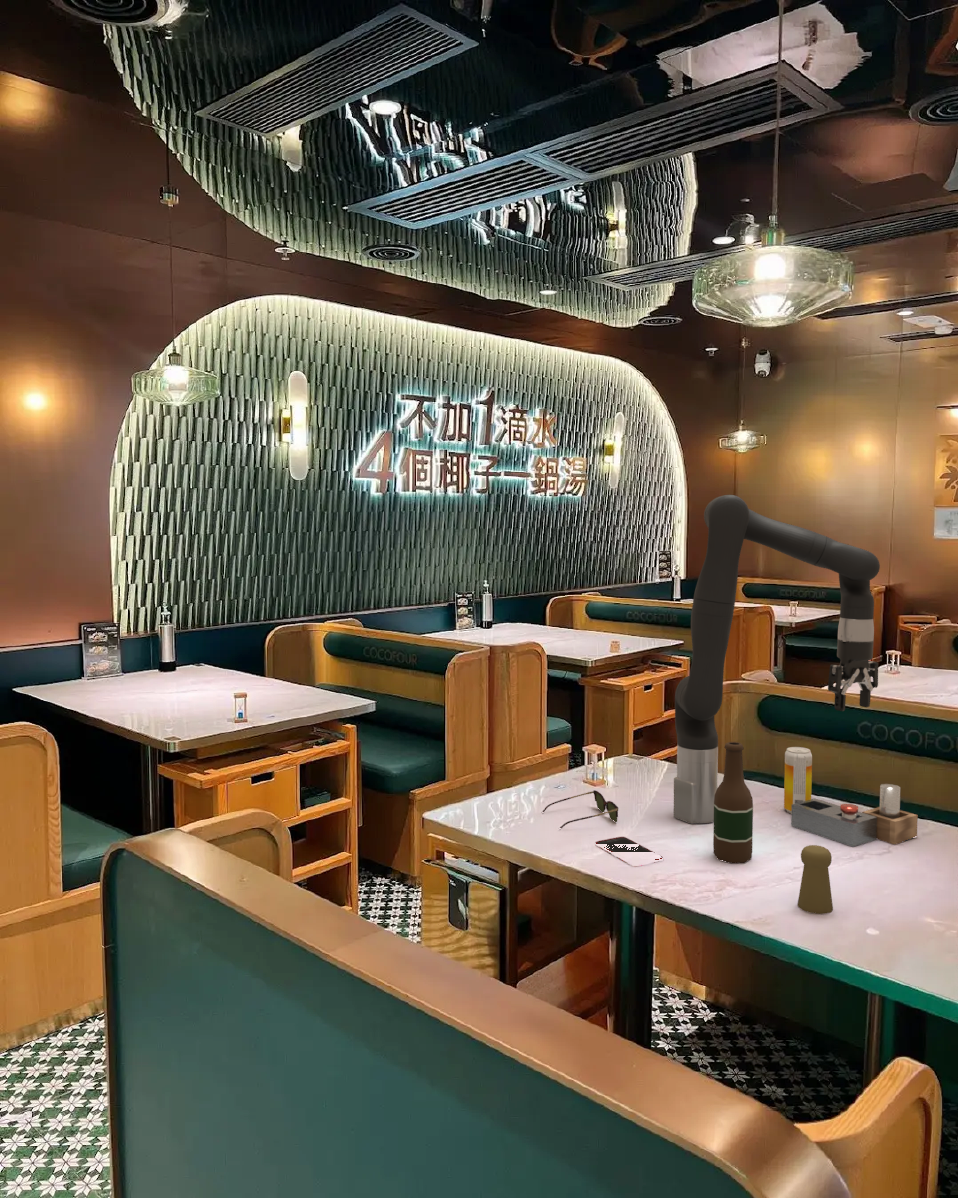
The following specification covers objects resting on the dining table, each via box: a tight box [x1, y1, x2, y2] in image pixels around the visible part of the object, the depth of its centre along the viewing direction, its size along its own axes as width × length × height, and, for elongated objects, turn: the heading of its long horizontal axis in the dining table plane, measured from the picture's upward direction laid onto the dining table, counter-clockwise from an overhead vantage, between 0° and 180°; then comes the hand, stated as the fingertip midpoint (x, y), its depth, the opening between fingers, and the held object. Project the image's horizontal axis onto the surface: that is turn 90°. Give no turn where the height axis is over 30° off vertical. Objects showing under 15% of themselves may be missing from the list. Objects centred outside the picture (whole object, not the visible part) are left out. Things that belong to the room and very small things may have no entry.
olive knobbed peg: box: [797, 844, 834, 915], centre depth 164 cm, size 6×6×11 cm
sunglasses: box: [542, 790, 619, 829], centre depth 214 cm, size 14×15×5 cm
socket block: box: [790, 798, 877, 848], centre depth 202 cm, size 8×16×5 cm, turn 32°
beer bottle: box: [712, 741, 754, 864], centre depth 188 cm, size 8×8×24 cm
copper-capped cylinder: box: [839, 803, 859, 820], centre depth 199 cm, size 4×4×6 cm
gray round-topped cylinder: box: [879, 783, 901, 819], centre depth 200 cm, size 4×4×11 cm
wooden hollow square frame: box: [861, 806, 918, 845], centre depth 200 cm, size 8×8×5 cm
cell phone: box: [595, 836, 664, 860], centre depth 192 cm, size 8×15×1 cm, turn 26°
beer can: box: [783, 746, 813, 815], centre depth 217 cm, size 6×6×15 cm
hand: (852, 708), depth 208 cm, fingers open, 8 cm apart
